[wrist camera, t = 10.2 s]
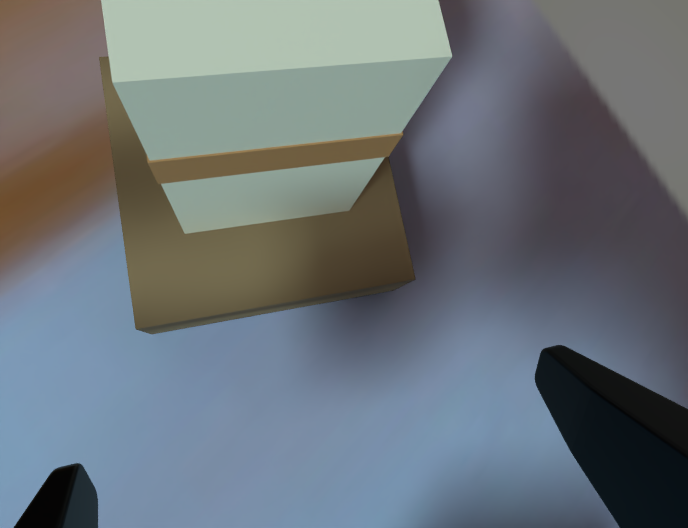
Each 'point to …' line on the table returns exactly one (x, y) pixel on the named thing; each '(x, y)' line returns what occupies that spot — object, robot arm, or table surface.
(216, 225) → the carton
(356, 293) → the base
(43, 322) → the table surface
